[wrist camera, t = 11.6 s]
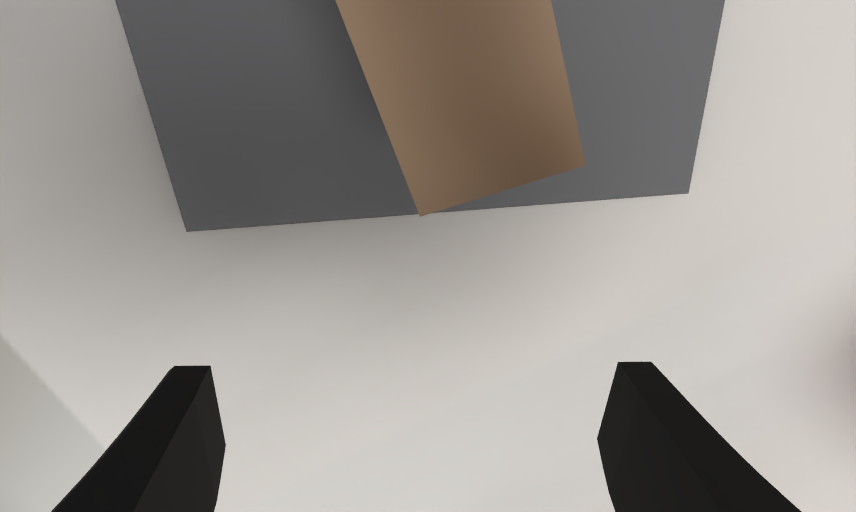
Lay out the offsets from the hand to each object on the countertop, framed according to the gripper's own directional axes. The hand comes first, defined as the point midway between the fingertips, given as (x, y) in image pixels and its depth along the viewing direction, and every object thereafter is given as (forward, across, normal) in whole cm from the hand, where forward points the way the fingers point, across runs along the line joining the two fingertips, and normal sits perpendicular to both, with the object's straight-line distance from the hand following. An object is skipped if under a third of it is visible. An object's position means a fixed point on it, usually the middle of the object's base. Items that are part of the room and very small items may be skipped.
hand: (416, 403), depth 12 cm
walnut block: (+10, 0, -6) cm, 12 cm away
